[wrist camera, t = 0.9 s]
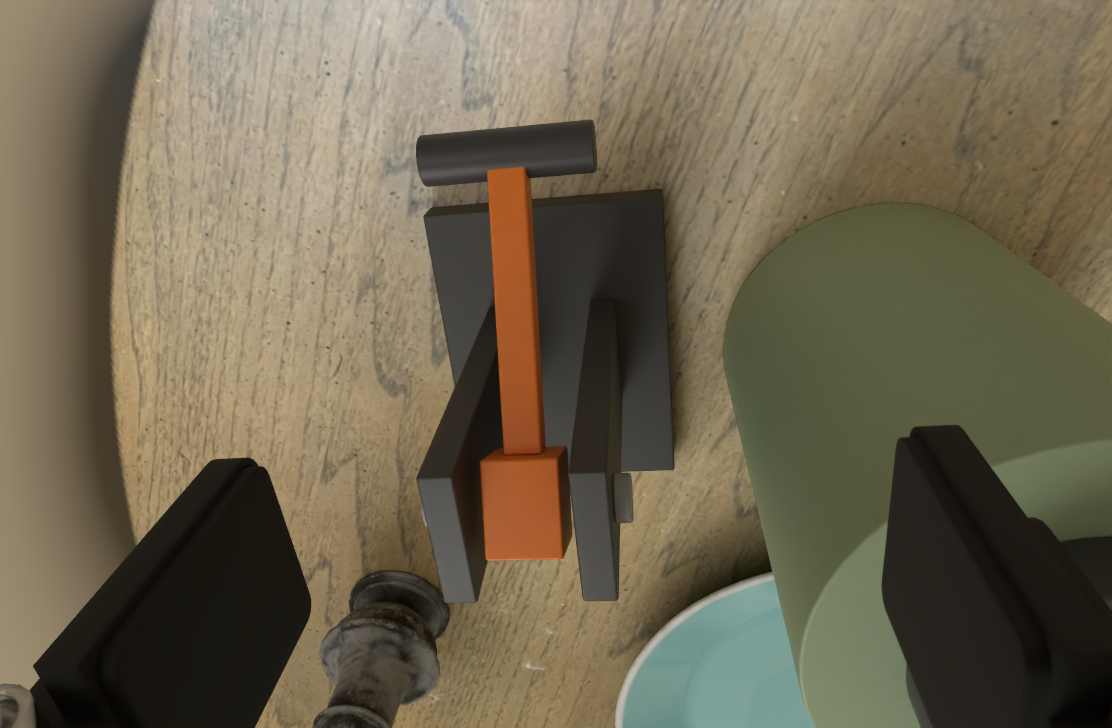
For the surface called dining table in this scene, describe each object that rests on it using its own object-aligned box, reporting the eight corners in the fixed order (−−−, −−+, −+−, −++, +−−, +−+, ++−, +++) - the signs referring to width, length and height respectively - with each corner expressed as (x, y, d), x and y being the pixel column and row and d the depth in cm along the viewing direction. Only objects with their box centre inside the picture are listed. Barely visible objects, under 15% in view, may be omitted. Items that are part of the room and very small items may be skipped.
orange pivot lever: (433, 146, 23) (408, 125, 21) (596, 131, 23) (590, 107, 20) (457, 539, 24) (435, 562, 21) (618, 535, 23) (615, 558, 21)
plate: (1158, 682, 37) (1196, 733, 35) (822, 868, 47) (833, 919, 44) (836, 435, 33) (853, 474, 30) (533, 696, 42) (526, 741, 39)
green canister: (722, 215, 29) (829, 499, 13) (1103, 185, 27) (1746, 471, 11) (723, 468, 34) (802, 887, 18) (1044, 456, 32) (1430, 907, 17)
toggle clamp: (430, 207, 30) (305, 351, 18) (662, 188, 29) (682, 329, 17) (476, 462, 35) (402, 696, 24) (673, 454, 34) (694, 696, 23)
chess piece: (363, 549, 38) (260, 773, 27) (471, 593, 39) (411, 828, 28) (330, 624, 41) (224, 855, 30) (431, 664, 41) (363, 902, 31)
